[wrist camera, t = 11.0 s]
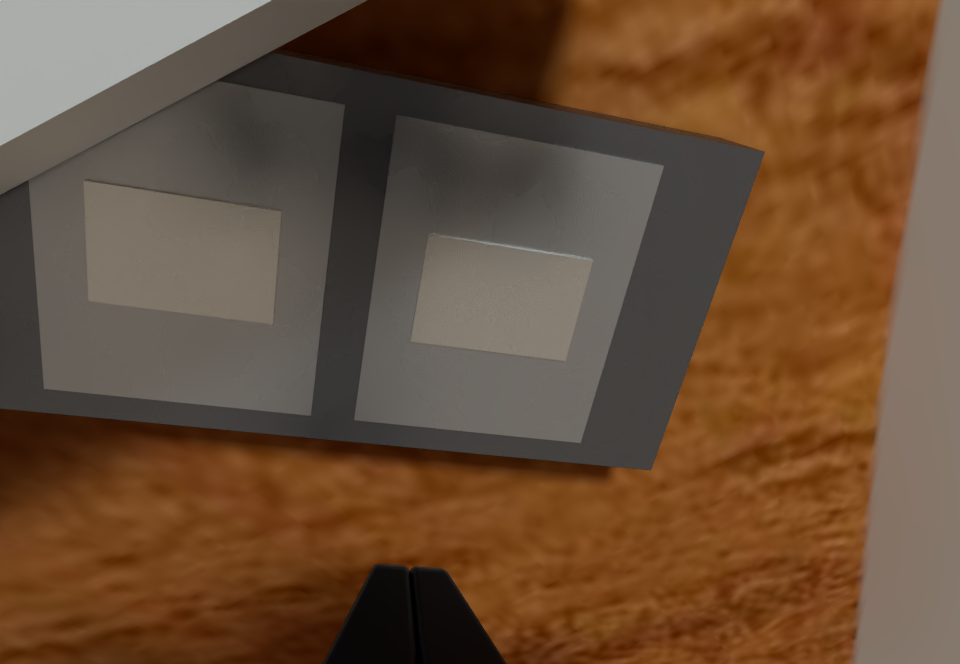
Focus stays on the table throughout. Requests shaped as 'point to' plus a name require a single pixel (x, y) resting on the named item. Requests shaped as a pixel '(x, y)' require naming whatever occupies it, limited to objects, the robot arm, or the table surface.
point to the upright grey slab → (122, 64)
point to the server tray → (372, 266)
